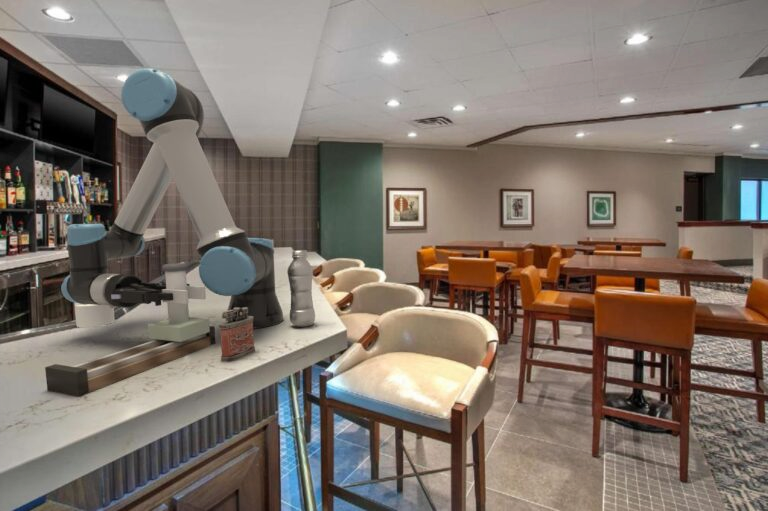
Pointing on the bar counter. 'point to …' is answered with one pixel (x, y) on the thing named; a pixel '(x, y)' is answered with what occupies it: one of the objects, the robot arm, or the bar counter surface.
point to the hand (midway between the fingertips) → (195, 294)
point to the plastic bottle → (301, 290)
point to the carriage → (177, 311)
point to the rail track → (121, 364)
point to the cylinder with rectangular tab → (93, 315)
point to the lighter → (236, 334)
